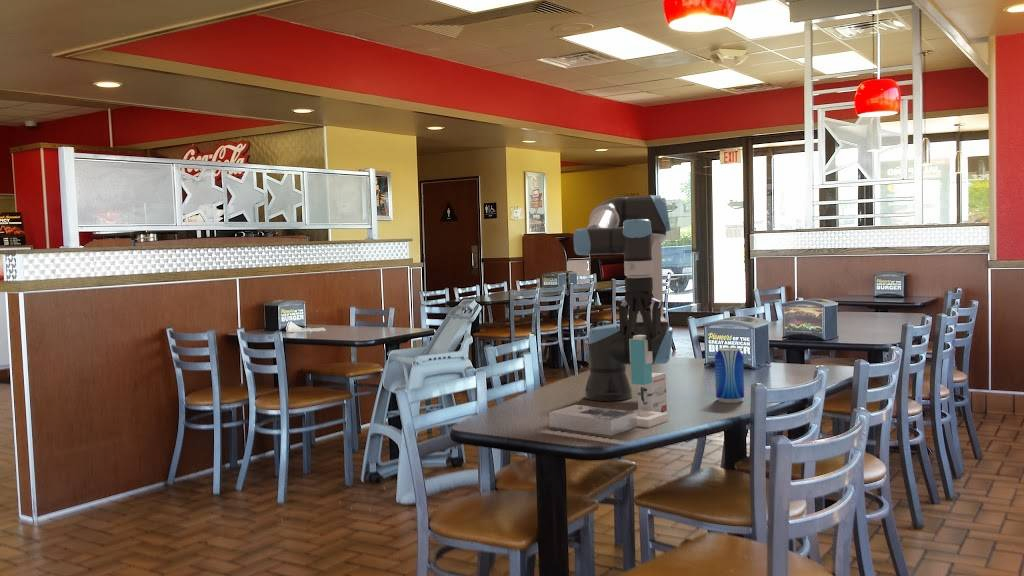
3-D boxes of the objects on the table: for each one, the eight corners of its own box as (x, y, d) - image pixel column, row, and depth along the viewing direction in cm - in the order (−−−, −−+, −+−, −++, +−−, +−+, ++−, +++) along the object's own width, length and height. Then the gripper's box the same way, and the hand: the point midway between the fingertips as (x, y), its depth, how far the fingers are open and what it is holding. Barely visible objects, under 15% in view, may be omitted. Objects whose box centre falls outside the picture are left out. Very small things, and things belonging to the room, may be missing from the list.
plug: (631, 383, 236) (630, 336, 235) (639, 381, 239) (638, 334, 238) (644, 384, 234) (642, 336, 233) (652, 382, 237) (650, 335, 236)
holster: (617, 426, 236) (616, 415, 236) (637, 420, 244) (637, 409, 244) (648, 431, 230) (648, 419, 229) (668, 424, 237) (668, 413, 237)
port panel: (550, 430, 235) (549, 410, 235) (576, 422, 244) (575, 402, 244) (611, 439, 222) (610, 418, 221) (637, 430, 231) (636, 410, 231)
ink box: (652, 411, 255) (651, 371, 254) (667, 413, 252) (666, 372, 251) (637, 417, 248) (636, 376, 247) (652, 418, 245) (651, 377, 244)
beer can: (745, 403, 261) (743, 350, 261) (716, 403, 263) (715, 350, 262) (743, 398, 270) (742, 346, 269) (715, 398, 271) (714, 347, 270)
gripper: (604, 277, 237) (607, 362, 239) (658, 277, 226) (661, 366, 228) (619, 275, 243) (622, 358, 244) (673, 275, 232) (675, 362, 233)
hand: (641, 362), depth 236 cm, fingers closed on plug, 4 cm apart
